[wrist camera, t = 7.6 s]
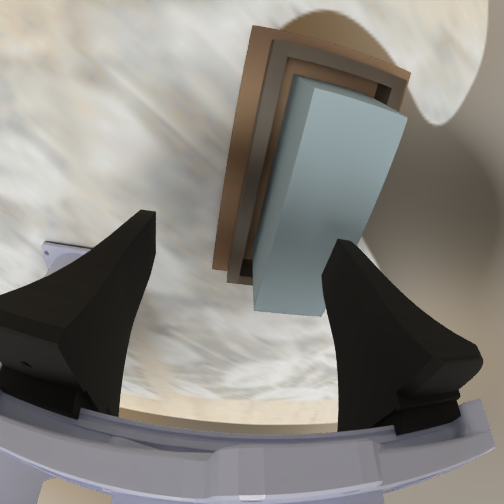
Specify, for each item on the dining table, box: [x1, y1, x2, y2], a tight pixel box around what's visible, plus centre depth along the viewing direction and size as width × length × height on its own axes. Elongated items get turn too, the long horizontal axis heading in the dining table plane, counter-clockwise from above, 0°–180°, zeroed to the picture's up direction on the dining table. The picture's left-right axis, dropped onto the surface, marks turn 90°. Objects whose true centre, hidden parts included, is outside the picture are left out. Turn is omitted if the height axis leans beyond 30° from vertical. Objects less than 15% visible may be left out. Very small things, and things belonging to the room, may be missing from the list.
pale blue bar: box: [252, 74, 408, 317], centre depth 17 cm, size 13×4×6 cm, turn 169°
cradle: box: [212, 25, 411, 285], centre depth 19 cm, size 18×10×3 cm, turn 169°
